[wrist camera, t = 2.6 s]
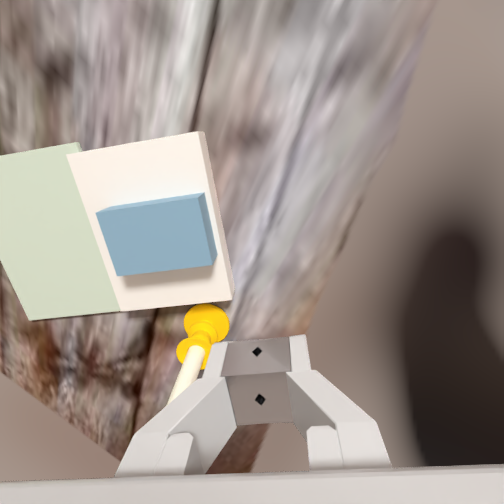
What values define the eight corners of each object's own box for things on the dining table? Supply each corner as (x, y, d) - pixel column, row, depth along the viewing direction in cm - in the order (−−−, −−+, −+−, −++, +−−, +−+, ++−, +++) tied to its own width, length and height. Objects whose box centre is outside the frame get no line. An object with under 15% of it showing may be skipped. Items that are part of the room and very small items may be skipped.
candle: (237, 315, 34) (209, 448, 19) (218, 348, 36) (179, 492, 21) (195, 295, 33) (134, 416, 19) (178, 330, 35) (110, 464, 21)
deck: (82, 153, 29) (65, 154, 26) (204, 131, 27) (197, 131, 25) (131, 299, 34) (121, 311, 32) (235, 288, 33) (232, 300, 30)
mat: (-41, 163, 30) (-46, 164, 30) (79, 142, 28) (76, 142, 28) (32, 318, 36) (29, 320, 36) (134, 307, 35) (132, 309, 34)
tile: (110, 206, 28) (95, 212, 26) (204, 192, 27) (197, 197, 24) (129, 265, 30) (117, 276, 28) (217, 254, 29) (212, 265, 26)
